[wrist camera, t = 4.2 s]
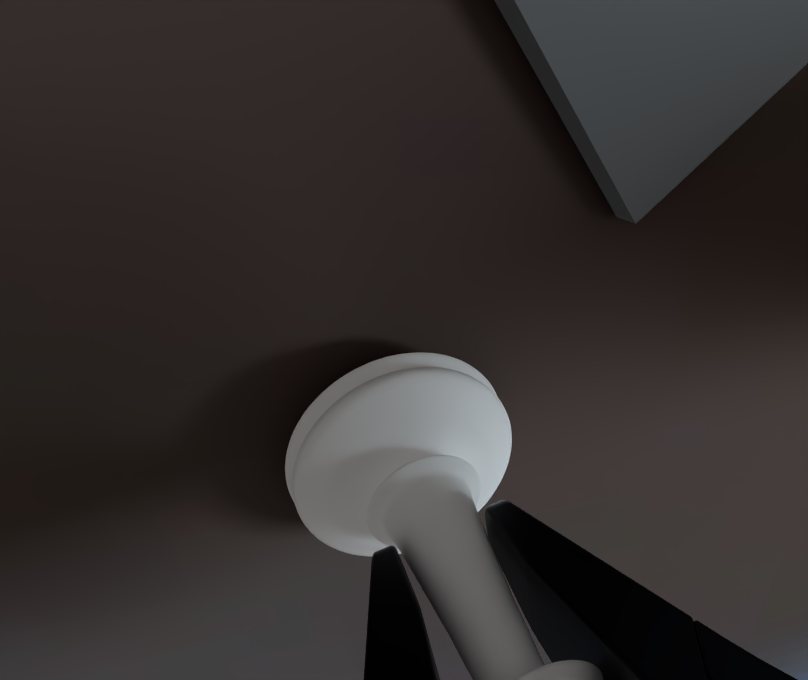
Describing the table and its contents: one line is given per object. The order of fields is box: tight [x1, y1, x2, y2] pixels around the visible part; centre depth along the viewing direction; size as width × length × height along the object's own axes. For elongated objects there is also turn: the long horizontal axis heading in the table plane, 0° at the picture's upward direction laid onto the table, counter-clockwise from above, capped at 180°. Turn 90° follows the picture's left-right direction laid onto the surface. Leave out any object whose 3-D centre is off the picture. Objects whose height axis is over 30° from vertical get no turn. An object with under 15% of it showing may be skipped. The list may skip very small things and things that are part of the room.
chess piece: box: [285, 352, 604, 680], centre depth 7 cm, size 5×5×10 cm
